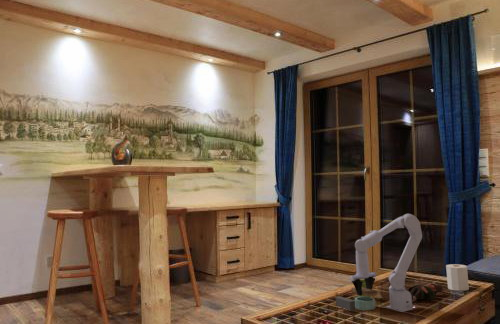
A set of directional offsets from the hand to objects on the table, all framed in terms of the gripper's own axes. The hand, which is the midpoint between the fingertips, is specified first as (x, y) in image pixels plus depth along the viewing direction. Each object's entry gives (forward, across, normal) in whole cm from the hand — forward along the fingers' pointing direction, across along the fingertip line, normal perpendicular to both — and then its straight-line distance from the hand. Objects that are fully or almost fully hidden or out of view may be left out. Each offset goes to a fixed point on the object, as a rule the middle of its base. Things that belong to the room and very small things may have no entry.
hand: (364, 294), depth 194 cm
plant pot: (+6, -11, -12) cm, 17 cm away
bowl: (+6, 0, 0) cm, 6 cm away
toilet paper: (+6, -63, +4) cm, 63 cm away
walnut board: (-1, 0, 0) cm, 1 cm away
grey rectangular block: (+6, +8, -4) cm, 11 cm away
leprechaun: (+6, -33, +5) cm, 34 cm away
